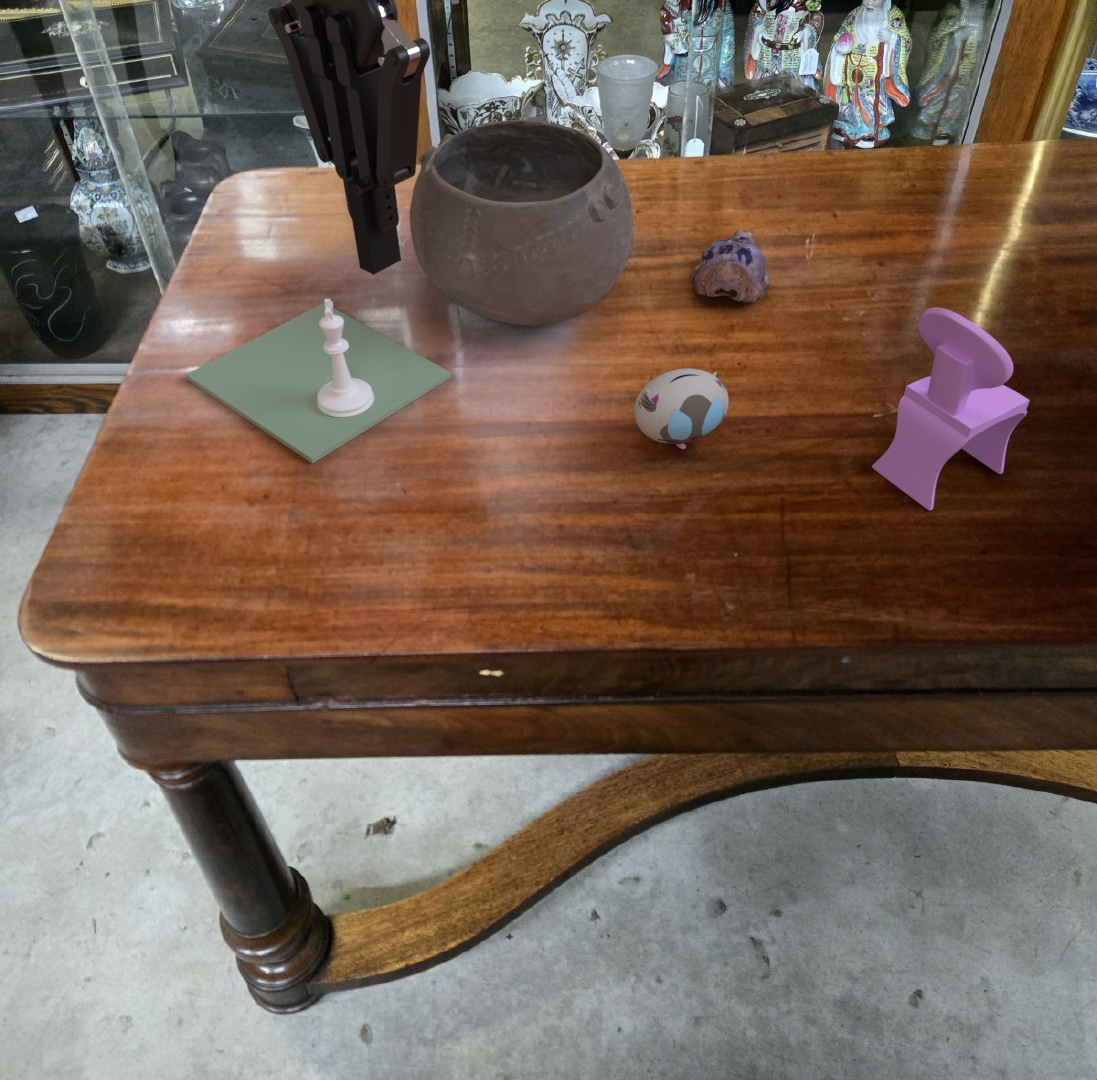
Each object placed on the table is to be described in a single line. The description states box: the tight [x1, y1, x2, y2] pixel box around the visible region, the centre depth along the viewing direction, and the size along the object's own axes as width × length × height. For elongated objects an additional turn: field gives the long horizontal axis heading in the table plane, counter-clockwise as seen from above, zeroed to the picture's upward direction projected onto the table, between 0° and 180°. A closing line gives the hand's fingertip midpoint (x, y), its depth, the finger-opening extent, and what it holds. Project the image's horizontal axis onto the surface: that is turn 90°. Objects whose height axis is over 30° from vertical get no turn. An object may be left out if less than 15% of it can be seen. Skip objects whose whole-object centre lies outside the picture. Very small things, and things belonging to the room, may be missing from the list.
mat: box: [185, 302, 452, 465], centre depth 94 cm, size 16×18×1 cm
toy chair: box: [871, 306, 1031, 512], centre depth 79 cm, size 8×9×15 cm
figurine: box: [633, 367, 730, 450], centre depth 85 cm, size 8×6×7 cm
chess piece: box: [317, 298, 374, 417], centre depth 87 cm, size 5×5×10 cm
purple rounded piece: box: [689, 229, 772, 304], centre depth 103 cm, size 12×8×6 cm, turn 154°
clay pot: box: [409, 119, 635, 327], centre depth 98 cm, size 21×21×15 cm
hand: (380, 263), depth 76 cm, fingers closed
